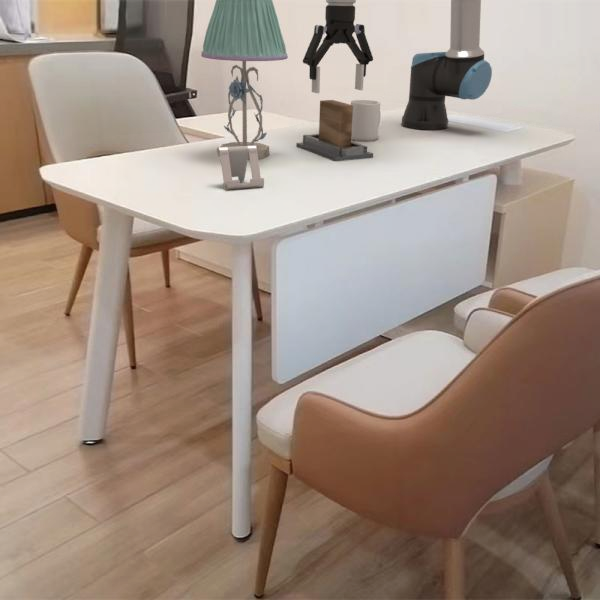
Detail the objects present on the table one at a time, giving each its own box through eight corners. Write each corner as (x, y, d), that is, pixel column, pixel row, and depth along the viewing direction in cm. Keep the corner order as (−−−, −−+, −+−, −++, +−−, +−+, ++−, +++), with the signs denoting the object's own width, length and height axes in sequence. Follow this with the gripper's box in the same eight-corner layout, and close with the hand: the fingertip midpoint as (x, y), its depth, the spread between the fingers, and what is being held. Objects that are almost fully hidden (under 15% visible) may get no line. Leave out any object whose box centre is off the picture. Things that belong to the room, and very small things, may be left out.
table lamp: (186, 153, 193) (180, -12, 178) (246, 143, 208) (246, -11, 192) (242, 168, 180) (242, -10, 164) (302, 155, 195) (307, -8, 179)
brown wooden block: (330, 144, 205) (332, 99, 200) (350, 151, 197) (353, 105, 192) (318, 145, 203) (320, 100, 198) (338, 152, 195) (340, 106, 191)
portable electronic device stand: (227, 191, 160) (226, 152, 157) (215, 182, 167) (215, 145, 163) (264, 188, 163) (264, 150, 160) (251, 179, 170) (251, 143, 166)
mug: (390, 137, 222) (393, 101, 217) (365, 142, 213) (368, 105, 209) (367, 133, 227) (370, 97, 223) (342, 138, 219) (344, 101, 215)
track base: (332, 143, 211) (333, 132, 210) (373, 157, 195) (373, 146, 194) (296, 146, 206) (296, 135, 204) (335, 161, 190) (335, 149, 189)
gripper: (372, 3, 195) (368, 86, 203) (290, 4, 183) (289, 91, 192) (389, 4, 189) (384, 90, 197) (305, 5, 177) (304, 95, 186)
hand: (337, 91), depth 194 cm, fingers open, 13 cm apart
